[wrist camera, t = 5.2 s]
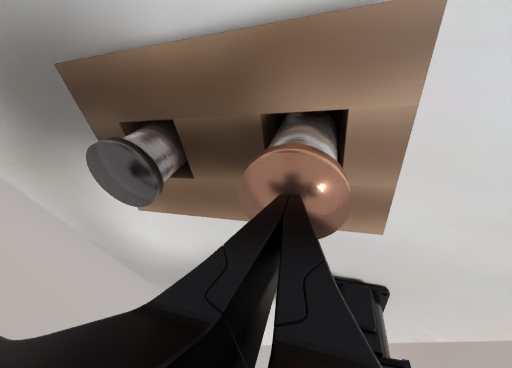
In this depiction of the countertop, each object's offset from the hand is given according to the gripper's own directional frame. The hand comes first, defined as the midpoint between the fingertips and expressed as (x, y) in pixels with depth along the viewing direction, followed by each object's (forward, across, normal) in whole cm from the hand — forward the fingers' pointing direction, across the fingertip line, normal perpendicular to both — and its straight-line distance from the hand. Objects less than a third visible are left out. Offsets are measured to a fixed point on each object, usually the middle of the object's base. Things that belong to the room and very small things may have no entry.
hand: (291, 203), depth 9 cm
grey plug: (+8, +10, 0) cm, 13 cm away
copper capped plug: (+7, 0, 0) cm, 7 cm away
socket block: (+8, +5, 0) cm, 10 cm away
